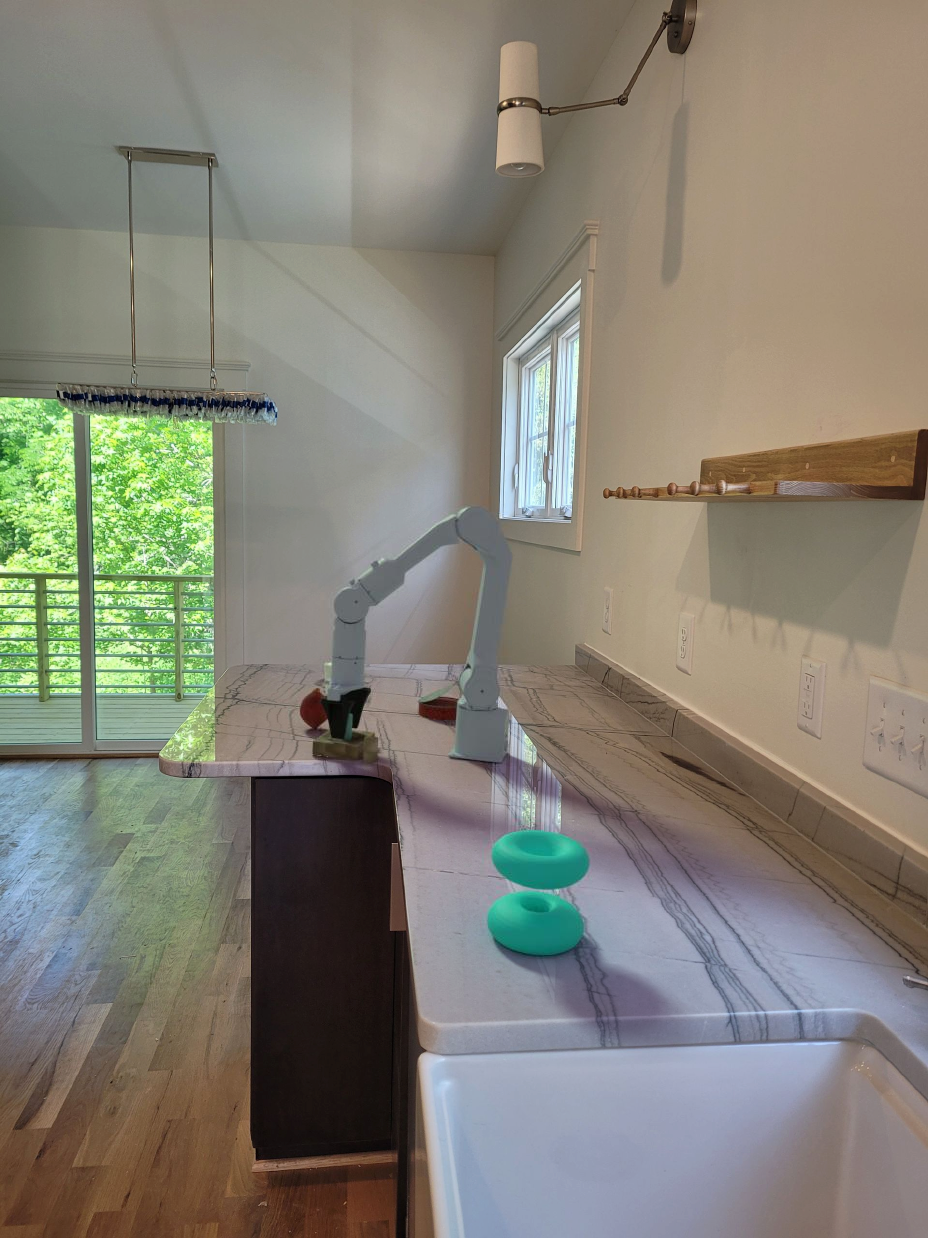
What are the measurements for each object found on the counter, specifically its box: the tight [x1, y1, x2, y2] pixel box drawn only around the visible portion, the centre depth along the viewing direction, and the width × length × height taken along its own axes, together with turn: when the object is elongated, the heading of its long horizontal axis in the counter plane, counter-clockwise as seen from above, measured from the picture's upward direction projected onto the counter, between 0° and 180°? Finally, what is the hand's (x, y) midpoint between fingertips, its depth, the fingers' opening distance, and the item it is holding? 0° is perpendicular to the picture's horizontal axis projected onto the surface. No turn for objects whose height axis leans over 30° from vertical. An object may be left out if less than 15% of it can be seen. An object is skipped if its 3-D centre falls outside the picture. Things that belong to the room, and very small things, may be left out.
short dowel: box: [362, 735, 379, 764], centre depth 148 cm, size 2×2×4 cm
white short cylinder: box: [323, 661, 332, 696], centre depth 198 cm, size 7×7×7 cm
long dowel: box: [343, 714, 353, 740], centre depth 153 cm, size 2×2×6 cm
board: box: [311, 729, 376, 762], centre depth 153 cm, size 8×10×2 cm
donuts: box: [486, 829, 590, 956], centre depth 90 cm, size 10×10×10 cm
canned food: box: [418, 681, 460, 721], centre depth 184 cm, size 11×10×10 cm
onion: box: [299, 686, 328, 729], centre depth 167 cm, size 6×6×8 cm
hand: (344, 732), depth 153 cm, fingers open, 7 cm apart
